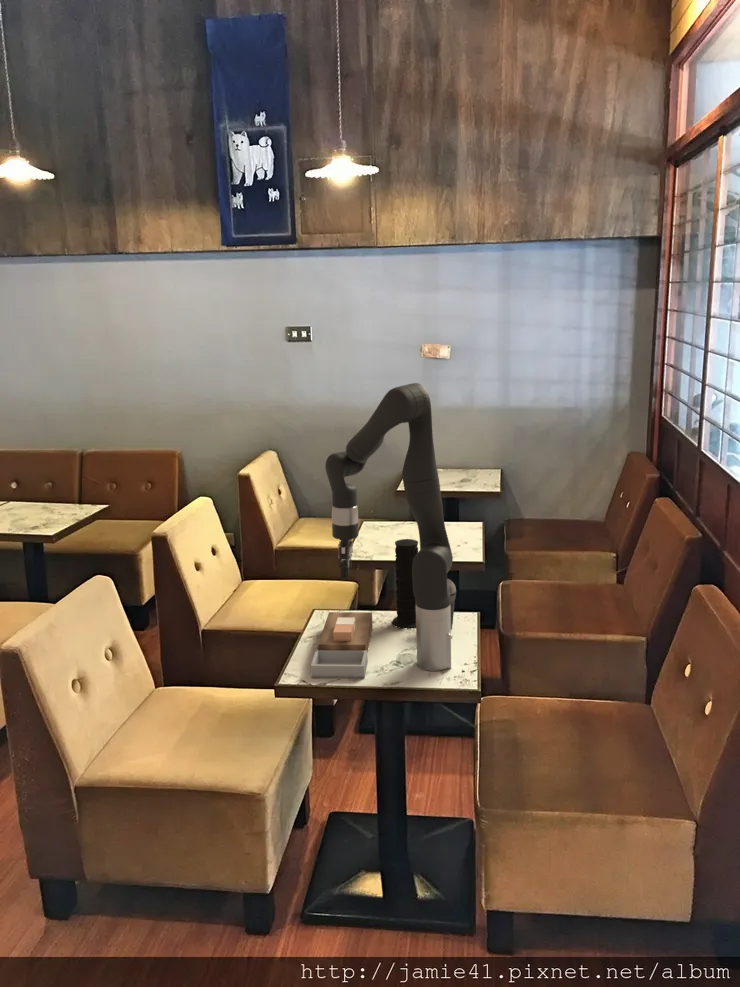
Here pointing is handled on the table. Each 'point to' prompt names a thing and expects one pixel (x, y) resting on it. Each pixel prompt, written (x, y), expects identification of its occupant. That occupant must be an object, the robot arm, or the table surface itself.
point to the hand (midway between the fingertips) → (346, 574)
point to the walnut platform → (359, 637)
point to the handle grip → (405, 583)
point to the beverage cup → (451, 597)
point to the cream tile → (346, 621)
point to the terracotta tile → (343, 633)
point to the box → (339, 664)
